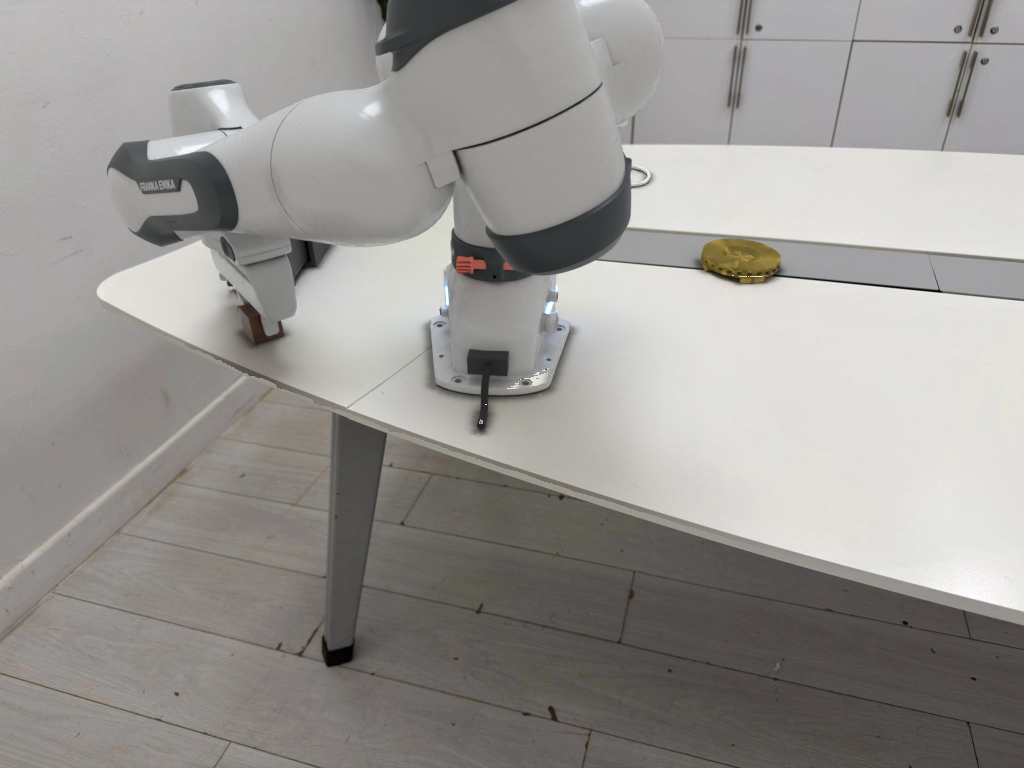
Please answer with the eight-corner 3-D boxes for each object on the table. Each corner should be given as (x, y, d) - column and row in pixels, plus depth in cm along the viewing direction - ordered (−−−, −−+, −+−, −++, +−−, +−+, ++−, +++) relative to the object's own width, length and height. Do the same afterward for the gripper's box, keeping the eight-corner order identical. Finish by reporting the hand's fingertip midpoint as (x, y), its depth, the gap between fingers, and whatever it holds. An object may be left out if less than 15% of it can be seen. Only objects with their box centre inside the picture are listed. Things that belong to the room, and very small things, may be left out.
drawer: (283, 302, 95) (273, 254, 91) (215, 300, 96) (202, 252, 92) (319, 250, 110) (312, 207, 106) (260, 248, 110) (250, 205, 106)
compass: (756, 290, 101) (759, 277, 100) (686, 266, 107) (688, 254, 106) (790, 265, 108) (793, 252, 107) (722, 244, 115) (725, 232, 113)
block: (284, 335, 90) (278, 308, 88) (255, 344, 88) (248, 318, 86) (272, 323, 92) (266, 297, 90) (244, 332, 90) (237, 306, 88)
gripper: (184, 204, 86) (212, 300, 94) (241, 258, 73) (267, 363, 81) (233, 194, 89) (256, 287, 97) (296, 243, 76) (316, 346, 84)
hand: (261, 322), depth 89 cm, fingers open, 5 cm apart
